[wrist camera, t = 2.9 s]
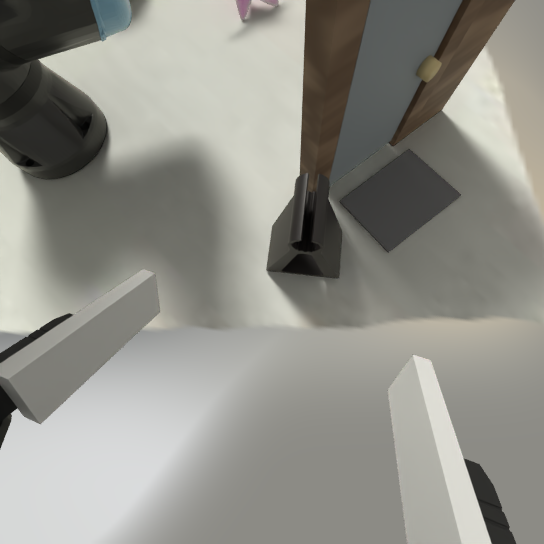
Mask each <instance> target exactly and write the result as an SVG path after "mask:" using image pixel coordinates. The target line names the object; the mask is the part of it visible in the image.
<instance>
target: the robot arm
mask: <svg viewBox="0 0 544 544" xmlns="http://www.w3.org/2000/svg"><path fill="white" fill-rule="evenodd" d="M131 19H132V12H131V6H130V2H129V0H0V152H1V153H2V154H3V155H4V156H5V157H6V158H7V159H8V160H9V161H10V162H12V163H13V164H14V165H16V166H17V167H19V168H20V169H22V170H24V171H25V172H27V173H29V174H31V175H32V176H35V177H38V178H43V179H55V178H60V177H64V176H67V175H69V174H72V173H74V172H76V171H78V170H79V169H81V168H82V167H84V166H85V165H86V164H87V163H88V162H89V161H90V160H91V159H92V158H93V157H94V156H95V155H96V154H97V152H98V151H99V149H100V147H101V146H102V144H103V141H104V138H105V134H106V120H105V117H104V115H103V113H102V111H101V110H100V109H99V107H98V106H97V105H96V104H95V103H94V102H93V101H92V100H91V98H90V97H89V96H88V95H86V94H85V93H84V92H82V91H81V90H80V89H78V88H77V87H75V86H74V85H72V84H71V83H69V82H68V81H66V80H65V79H64V78H62V77H61V76H59V75H58V74H56V73H55V72H53V71H52V70H50V69H49V68H48V67H46V66H45V65H43V64H42V63H41V62H40V61H39V60H38V59H41V58H44V57H47V56H51V55H54V54H57V53H60V52H64V51H67V50H70V49H74V48H77V47H80V46H83V45H87V44H90V43H93V42H97V41H100V40H101V41H104V40H106V37H108V36H110V35H113V34H115V33H118V32H120V31H123V30H125V29H126V28H127V27H128V26H129V25H130V22H131ZM159 312H160V306H159V299H158V291H157V283H156V275H155V273H153V272H150V271H147V270H144V269H142V270H141V271H139V272H138V273H136V274H135V275H133V276H132V277H130V278H129V279H127V280H126V281H124V282H123V283H121V284H119V285H118V286H116V287H115V288H113V289H112V290H110V291H109V292H107V293H106V294H104V295H103V296H101V297H100V298H98V299H97V300H95V301H94V302H92V303H91V304H89V305H88V306H86V307H85V308H83V309H82V310H80V311H79V312H77V313H76V314H74V315H72V314H70V313H69V314H66V315H64V316H61V317H59V318H56V319H54V320H52V321H50V322H49V323H47V324H46V325H44V326H43V327H41V328H40V329H39V330H36V331H35V332H33V333H31V334H30V335H29V336H28V337H25V338H24V339H22V340H20V341H19V342H17V343H16V344H14V345H12V346H11V347H9V348H8V349H6V350H5V351H3V352H1V353H0V448H1V445H2V443H3V441H4V438H5V435H6V433H7V430H8V427H9V425H10V422H11V417H12V415H11V413H12V412H13V411H14V410H16V409H17V408H18V409H19V411H20V412H21V413H22V415H23V416H24V417H26V418H28V419H30V420H32V421H35V422H37V423H39V424H41V423H42V422H43V421H44V420H45V419H47V418H48V417H49V416H50V415H51V414H52V413H53V412H54V411H55V410H56V409H57V408H58V407H59V406H60V405H61V404H63V403H64V402H65V401H66V400H67V399H68V398H69V397H70V396H71V395H72V394H73V393H74V392H75V391H76V390H77V389H78V388H79V387H81V385H83V384H84V383H85V382H86V381H87V380H88V379H89V378H90V377H91V376H92V375H93V374H94V373H95V372H97V371H98V370H99V369H100V368H101V367H102V366H103V365H104V364H105V363H106V362H107V361H108V360H109V359H110V358H111V357H112V356H114V355H115V354H116V353H117V352H118V351H119V350H120V349H121V348H122V347H123V346H124V345H125V344H126V343H127V342H128V341H129V340H131V339H132V338H133V337H134V336H135V335H136V334H137V333H138V332H139V331H140V330H141V329H142V328H143V327H144V326H146V325H147V324H148V323H149V322H150V321H151V320H152V319H153V318H154V317H155V316H156V315H157V314H158V313H159ZM388 396H389V404H390V411H391V420H392V427H393V436H394V442H395V451H396V458H397V467H398V475H399V483H400V491H401V498H402V506H403V514H404V522H405V530H406V537H407V544H516V542H515V540H514V537H513V534H512V532H510V530H509V524H508V522H507V519H506V517H505V514H504V512H502V507H501V504H500V501H499V499H498V496H497V493H496V491H495V488H494V486H493V484H492V483H491V481H490V480H489V478H488V477H487V475H486V474H485V472H484V470H483V469H482V467H481V466H480V465H479V464H477V463H475V462H472V461H469V460H467V459H464V458H463V456H462V453H461V450H460V447H459V444H458V441H457V437H456V434H455V432H454V429H453V426H452V423H451V419H450V416H449V413H448V410H447V407H446V404H445V402H444V398H443V395H442V392H441V389H440V386H439V383H438V380H437V377H436V374H435V371H434V368H433V365H432V362H431V360H429V359H426V358H422V357H419V356H416V355H412V356H411V358H410V359H409V361H408V362H407V364H406V365H405V366H404V368H403V369H402V370H401V372H400V373H399V375H398V376H397V377H396V379H395V380H394V382H393V383H392V385H391V386H390V387H389V389H388Z"/></svg>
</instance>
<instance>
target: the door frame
mask: <svg viewBox="0 0 544 544" xmlns="http://www.w3.org/2000/svg"><path fill="white" fill-rule="evenodd" d="M514 1H515V0H462V2H461V4H460V6H459V8H458V10H457V12H456V14H455V16H454V18H453V20H452V22H451V24H450V26H449V28H448V30H447V32H446V34H445V36H444V38H443V40H442V42H441V44H440V46H439V48H438V50H437V51H436V53H435V55H434V58H436V59H437V60H438V61H440V62H441V63H442V64H441V67H440V69H439V70H438V72H437V73H436V75H435V76H434V77H433V78H432V79H431V80H430V81H429V82H425V81H423V80H422V81H421V83H420V85H419V87H418V89H417V91H416V93H415V95H414V97H413V99H412V101H411V102H410V104H409V106H408V108H407V110H406V112H405V114H404V116H403V118H402V120H401V122H400V124H399V126H398V128H397V130H396V132H395V134H394V136H393V138H392V140H391V141H390V142H389V143H390V144H391V145H392V146H394V145H395V144H397V143H398V142H399V141H401V140H402V139H403V138H405V137H406V136H407V135H409V134H410V133H411V132H413V131H414V130H415V129H417V128H418V127H419V126H421V125H422V124H423V123H425V122H426V121H427V120H429V119H430V118H431V117H433V116H434V115H436V114H437V113H438V112H440V111H441V110H442V109H443V107H444V106H445V104H446V103H447V101H448V100H449V98H450V97H451V95H452V94H453V92H454V91H455V89H456V88H457V86H458V85H459V83H460V82H461V80H462V79H463V77H464V76H465V74H466V73H467V71H468V70H469V68H470V67H471V65H472V64H473V62H474V61H475V59H476V58H477V56H478V55H479V53H480V52H481V50H482V49H483V47H484V46H485V44H486V43H487V41H488V40H489V38H490V37H491V35H492V34H493V32H494V31H495V29H496V28H497V26H498V25H499V24H500V22H501V21H502V19H503V17H504V16H505V15H506V13H507V11H508V10H509V8H510V7H511V6H512V4H513V3H514ZM369 4H370V0H306V18H305V46H304V74H303V102H302V129H301V157H300V175H302V174H305V173H308V174H309V179H308V188H307V191H310V192H311V193H312V192H313V191H315V192H316V189H317V179H318V175H319V174H322V175H324V176H326V177H327V178H328V179H329V177H330V173H331V169H332V164H333V160H334V156H335V151H336V147H337V143H338V138H339V134H340V130H341V125H342V121H343V117H344V112H345V108H346V104H347V99H348V95H349V91H350V86H351V82H352V78H353V73H354V69H355V65H356V60H357V56H358V52H359V47H360V43H361V39H362V34H363V30H364V26H365V21H366V17H367V13H368V8H369Z"/></svg>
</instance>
